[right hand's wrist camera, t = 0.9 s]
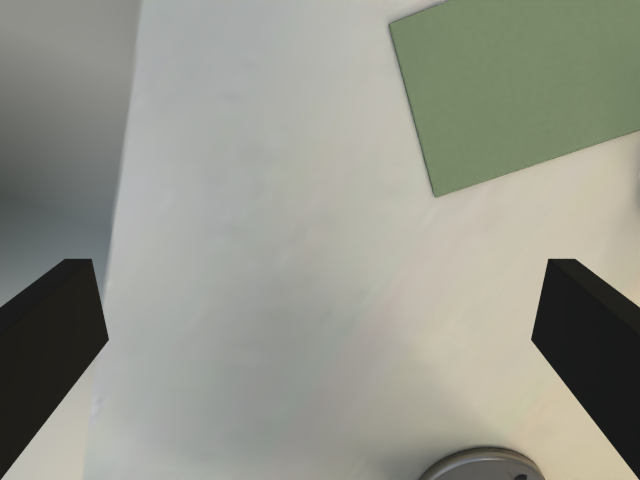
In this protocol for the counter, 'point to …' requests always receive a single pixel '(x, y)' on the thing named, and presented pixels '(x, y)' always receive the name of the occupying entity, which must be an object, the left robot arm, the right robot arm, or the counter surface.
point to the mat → (517, 82)
